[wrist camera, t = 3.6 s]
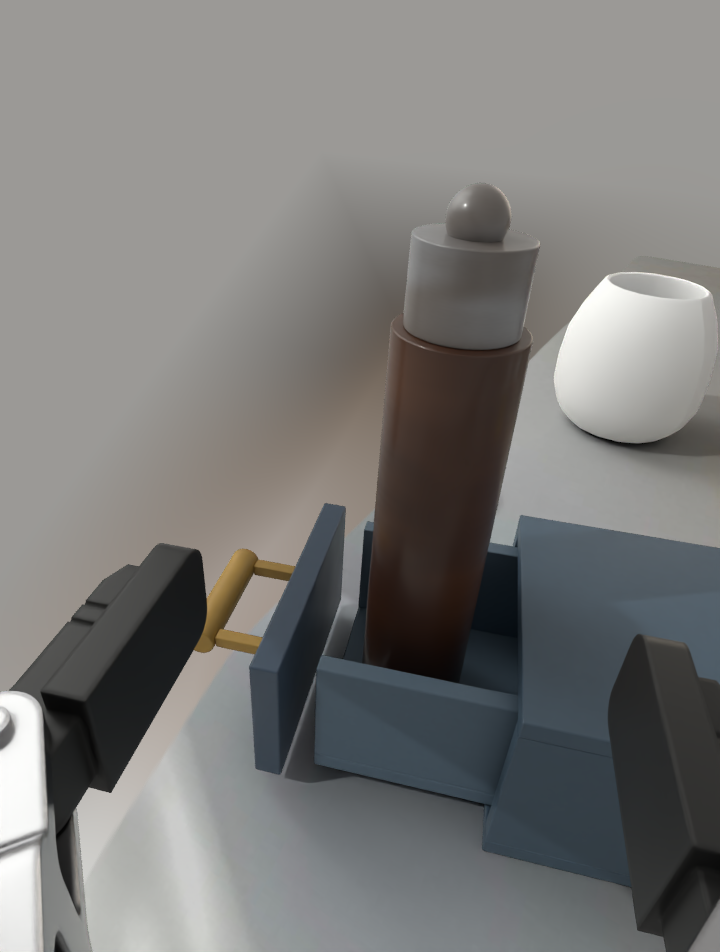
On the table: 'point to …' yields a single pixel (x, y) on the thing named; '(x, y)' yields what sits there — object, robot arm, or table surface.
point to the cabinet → (588, 681)
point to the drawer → (374, 675)
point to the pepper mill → (447, 431)
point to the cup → (637, 357)
